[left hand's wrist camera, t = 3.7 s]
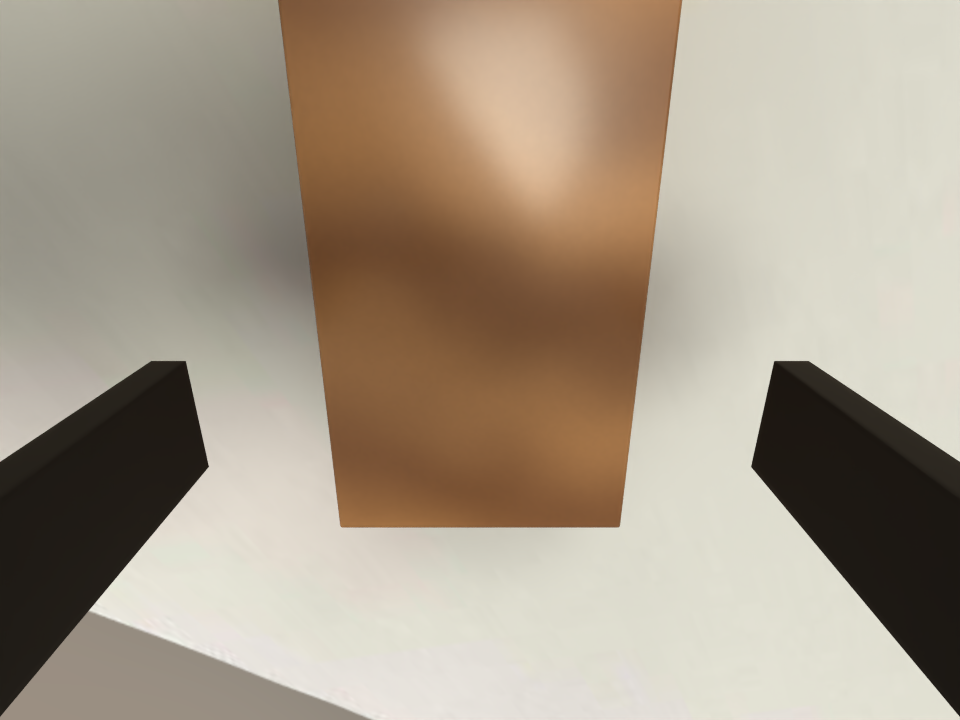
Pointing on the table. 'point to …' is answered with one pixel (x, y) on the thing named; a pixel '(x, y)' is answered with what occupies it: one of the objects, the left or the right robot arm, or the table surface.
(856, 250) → the table surface
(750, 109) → the table surface
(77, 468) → the left robot arm
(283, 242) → the table surface
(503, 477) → the wide beam
